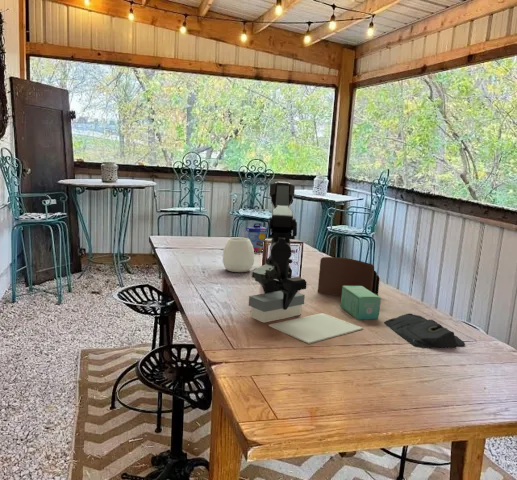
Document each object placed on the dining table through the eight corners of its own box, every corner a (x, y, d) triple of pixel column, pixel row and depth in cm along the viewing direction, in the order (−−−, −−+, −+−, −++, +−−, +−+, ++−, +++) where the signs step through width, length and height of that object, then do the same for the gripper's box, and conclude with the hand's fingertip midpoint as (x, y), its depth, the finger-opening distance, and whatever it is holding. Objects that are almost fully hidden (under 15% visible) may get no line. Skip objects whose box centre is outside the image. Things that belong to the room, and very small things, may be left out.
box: (357, 320, 153) (359, 296, 152) (339, 307, 166) (341, 285, 165) (379, 319, 155) (381, 296, 153) (360, 307, 168) (362, 285, 166)
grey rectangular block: (248, 305, 150) (249, 296, 149) (288, 298, 160) (288, 289, 159) (264, 311, 144) (264, 302, 144) (304, 304, 154) (304, 294, 154)
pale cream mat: (268, 326, 143) (268, 324, 143) (322, 314, 157) (322, 312, 157) (308, 343, 131) (308, 342, 131) (362, 329, 145) (363, 327, 144)
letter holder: (370, 302, 173) (374, 262, 171) (317, 293, 182) (319, 254, 180) (378, 296, 182) (381, 258, 180) (326, 287, 191) (329, 251, 189)
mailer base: (250, 316, 150) (251, 297, 149) (287, 309, 159) (288, 291, 158) (263, 322, 145) (264, 302, 144) (300, 314, 155) (301, 295, 154)
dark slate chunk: (425, 322, 156) (427, 307, 155) (469, 349, 134) (471, 332, 134) (379, 323, 152) (381, 308, 152) (417, 351, 131) (419, 333, 130)
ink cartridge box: (247, 252, 252) (249, 223, 249) (244, 250, 257) (245, 222, 254) (266, 251, 255) (267, 223, 253) (261, 249, 261) (263, 222, 258)
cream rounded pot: (253, 275, 203) (254, 242, 201) (220, 273, 203) (222, 240, 201) (254, 268, 216) (255, 237, 214) (223, 266, 216) (224, 235, 214)
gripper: (239, 252, 151) (236, 302, 154) (280, 264, 137) (277, 319, 140) (267, 249, 158) (264, 297, 161) (309, 260, 144) (305, 313, 147)
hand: (276, 306), depth 152 cm, fingers closed on grey rectangular block, 7 cm apart
